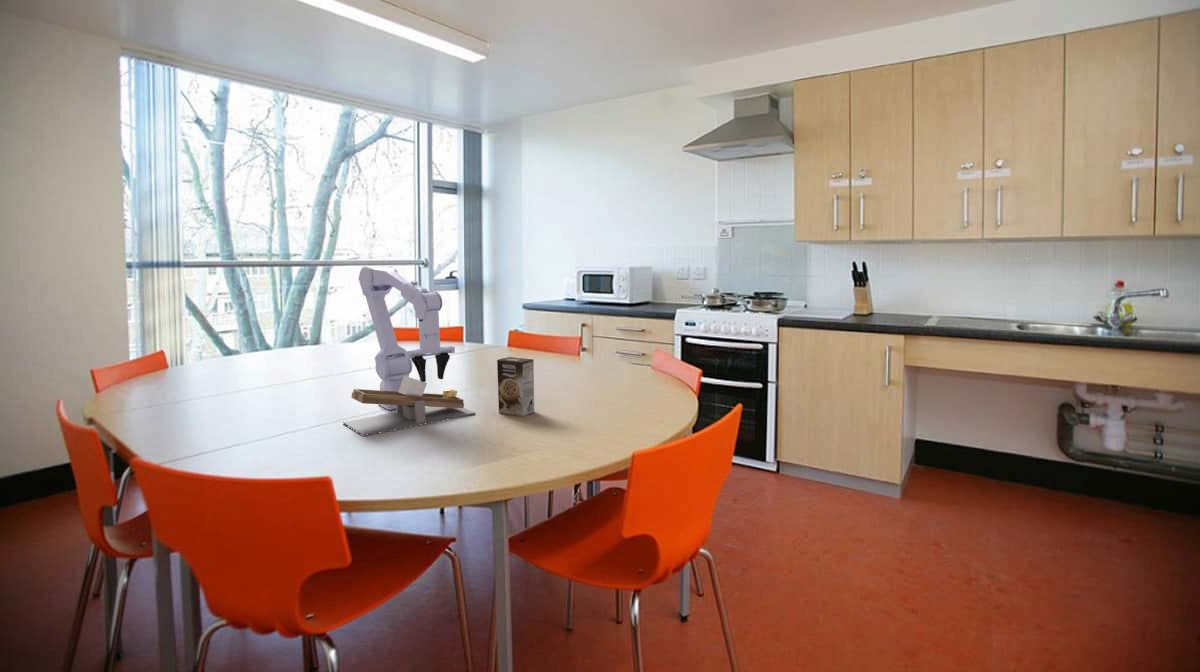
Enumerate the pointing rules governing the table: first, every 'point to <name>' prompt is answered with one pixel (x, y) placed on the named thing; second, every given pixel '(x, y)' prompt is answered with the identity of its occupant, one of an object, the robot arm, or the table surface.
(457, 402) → the beam
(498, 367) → the coffee box
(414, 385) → the steel block
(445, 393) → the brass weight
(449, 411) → the beam stand
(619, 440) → the table surface
